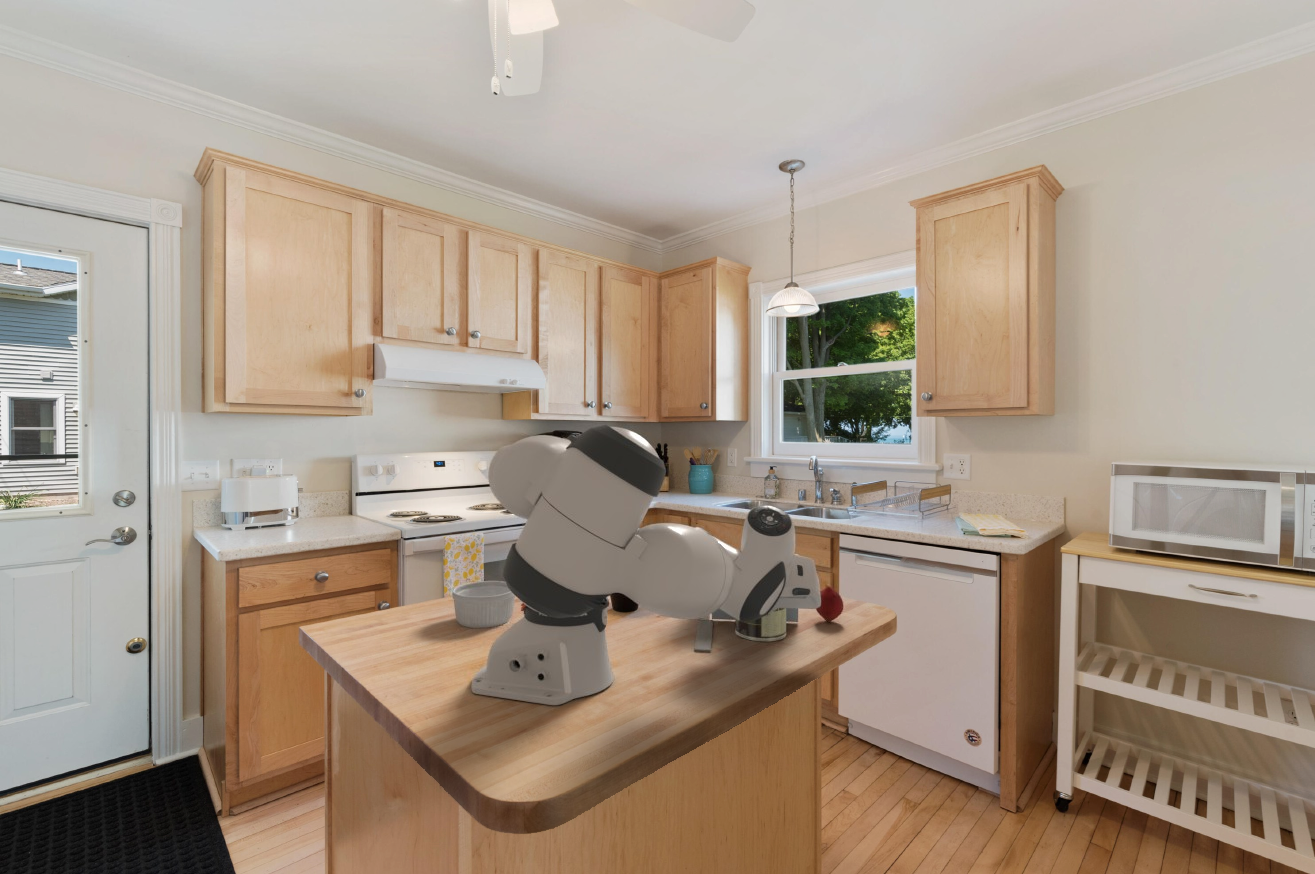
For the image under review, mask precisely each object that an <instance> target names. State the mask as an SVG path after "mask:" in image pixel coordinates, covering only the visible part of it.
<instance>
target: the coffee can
mask: <svg viewBox="0 0 1315 874" xmlns="http://www.w3.org/2000/svg"><path fill="white" fill-rule="evenodd" d="M734 633H735V634H736V635H737V637H740V638H742V639H745V640H747V641H752V642H761V643H763V642H765V643H767V642H770V643H771V642H775V641H780V640H782V639H784V638H785V639H786V636H787V622H786V608H778V609H776V610H774V611H773V612H771V616H763V617H761V618H759V619H756V620H753V621H750V622H741V621H739V620H738V619H736V620H735V630H734Z"/></svg>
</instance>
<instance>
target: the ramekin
mask: <svg viewBox="0 0 1315 874" xmlns="http://www.w3.org/2000/svg"><path fill="white" fill-rule="evenodd" d="M451 595H452V599H453V605H454V606H453V607H454V614H455V619H456V621H457V622H458V624H459V625H460V626H462V627H466V628H472V629H484V628H493V627H497V626H501V625H504V624H506V623H508V622H509V621H510V619H511V618H512V616H513V614H514V608H515V607H514V606H515V601H516V596H515V595H514V594H513V593H512V592H511V591H510V589H509V588H508V586H507V584H506V582H505V581H502V580H485V581H484V580H483V581H474V582H473V581H472V582H467V583H463V584H461V585H458V586H455V588H454V589H453V590H452V594H451Z"/></svg>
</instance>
